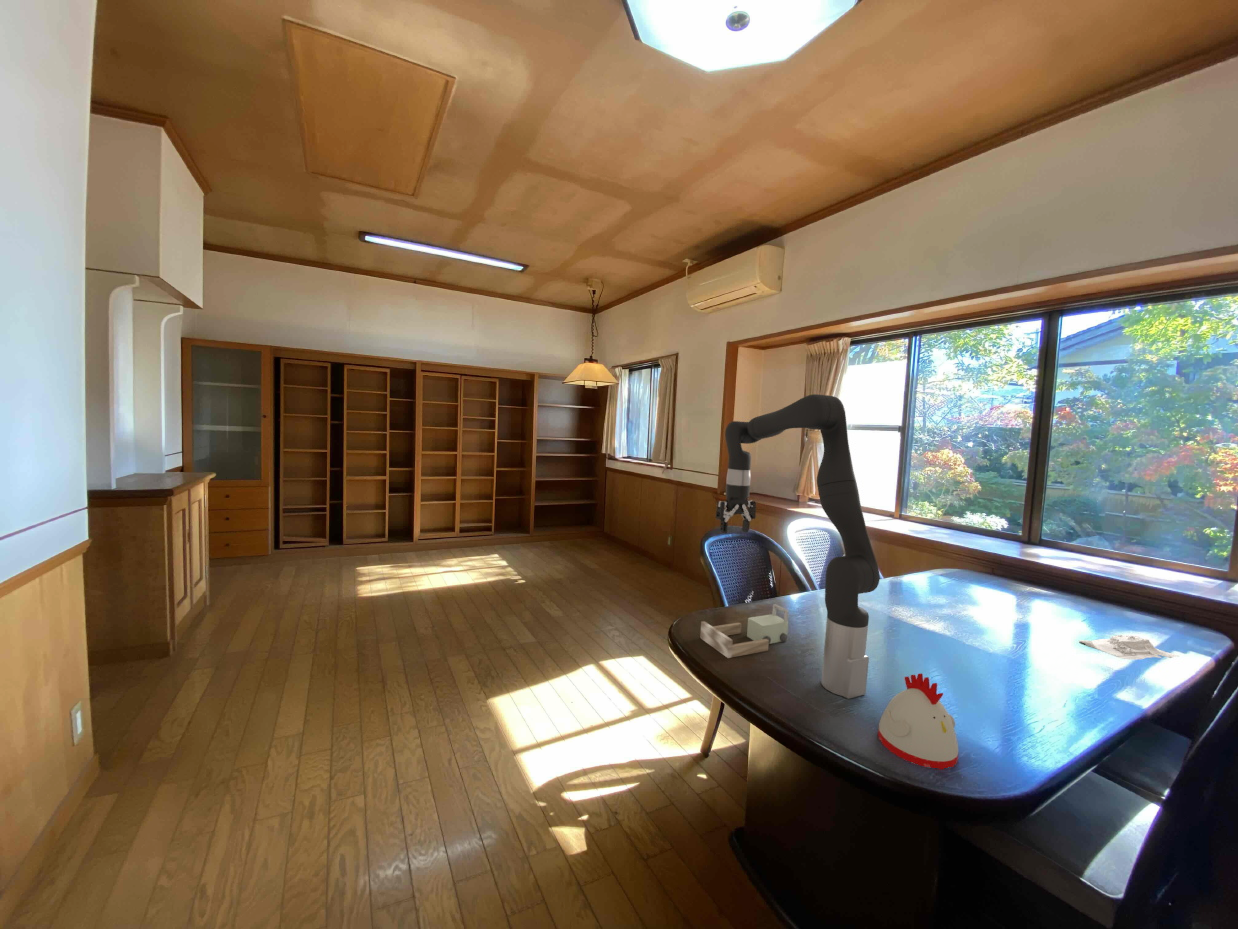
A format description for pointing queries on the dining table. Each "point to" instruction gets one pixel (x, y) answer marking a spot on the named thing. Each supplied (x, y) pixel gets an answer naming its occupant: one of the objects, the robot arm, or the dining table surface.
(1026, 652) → the dining table surface
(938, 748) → the kitchen timer
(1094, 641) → the terrain model
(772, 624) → the sage trolley
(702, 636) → the birch bay
